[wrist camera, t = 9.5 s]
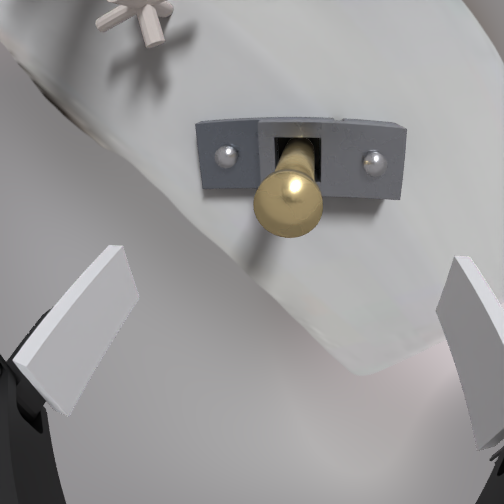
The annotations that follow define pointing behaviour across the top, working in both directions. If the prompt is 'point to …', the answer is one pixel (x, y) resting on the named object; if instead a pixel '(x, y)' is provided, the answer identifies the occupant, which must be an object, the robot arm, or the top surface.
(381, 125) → the square socket block
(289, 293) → the top surface
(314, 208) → the pin
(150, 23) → the white crossed rod jack
